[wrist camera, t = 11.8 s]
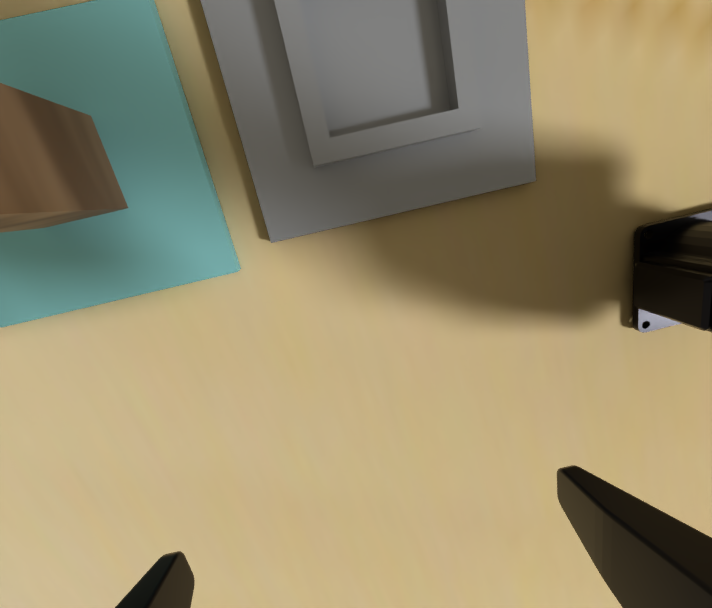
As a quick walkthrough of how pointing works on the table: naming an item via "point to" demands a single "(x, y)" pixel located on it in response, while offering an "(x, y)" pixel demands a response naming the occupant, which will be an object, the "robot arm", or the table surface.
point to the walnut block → (51, 164)
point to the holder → (374, 103)
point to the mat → (113, 164)
